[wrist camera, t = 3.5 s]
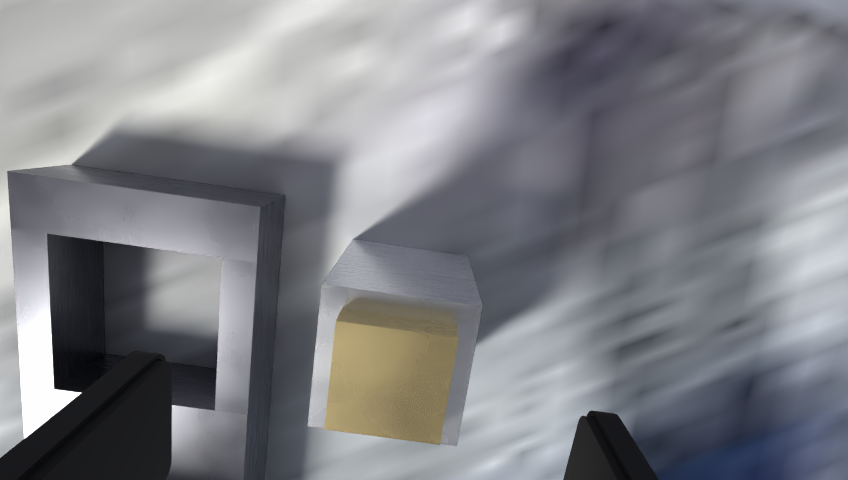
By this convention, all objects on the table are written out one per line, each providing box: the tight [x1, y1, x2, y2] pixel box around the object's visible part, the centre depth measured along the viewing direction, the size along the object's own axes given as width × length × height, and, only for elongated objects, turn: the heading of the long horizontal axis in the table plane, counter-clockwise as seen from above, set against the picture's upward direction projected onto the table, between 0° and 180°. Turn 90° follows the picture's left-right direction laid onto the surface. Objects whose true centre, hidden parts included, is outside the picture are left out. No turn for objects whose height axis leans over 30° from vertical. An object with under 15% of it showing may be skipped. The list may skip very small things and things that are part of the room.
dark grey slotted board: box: [7, 165, 285, 480], centre depth 21 cm, size 9×21×3 cm, turn 172°
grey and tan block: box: [308, 239, 483, 446], centre depth 17 cm, size 5×5×7 cm
